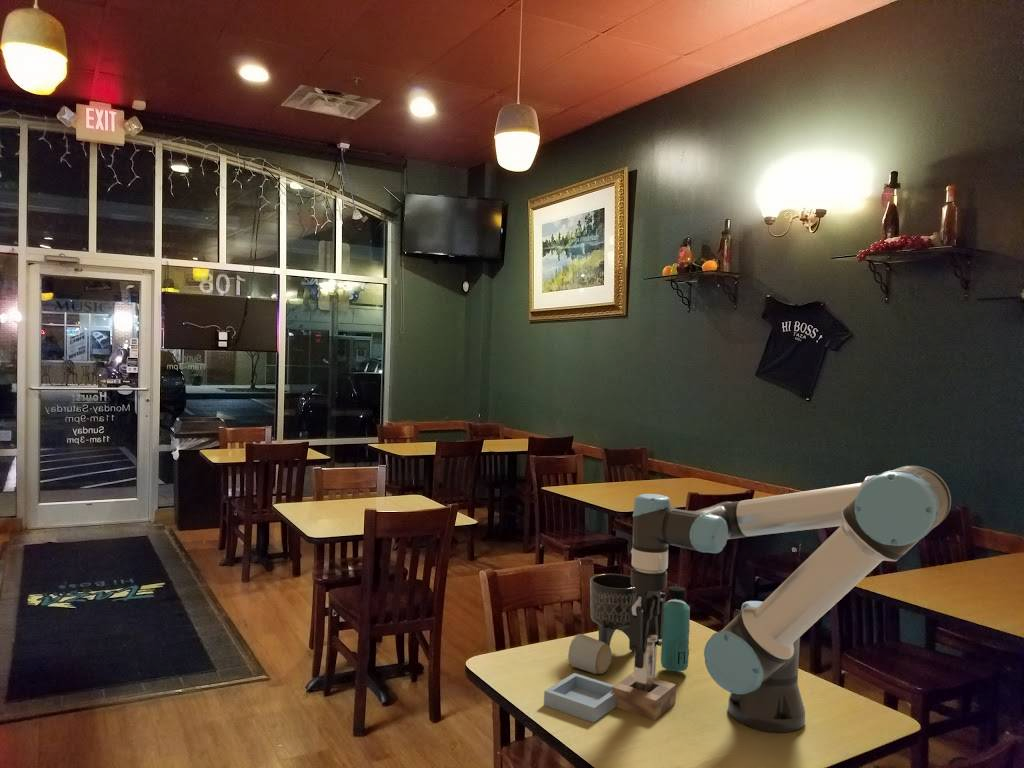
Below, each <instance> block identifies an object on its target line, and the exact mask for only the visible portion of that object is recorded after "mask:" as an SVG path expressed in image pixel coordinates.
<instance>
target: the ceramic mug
mask: <svg viewBox="0 0 1024 768" xmlns="http://www.w3.org/2000/svg"><path fill="white" fill-rule="evenodd" d="M612 657H613V656H612V649H611V647H609V645H607V644H606V643H604V642H602V641H599V639H595V637H591V636H589V635H585V634H583V633H578V634H576V635H575V636H574V638H573V639H572V640H571V642H570V645H569V649H568V654H567V658H568V663H569V665H570V666H571V667H573V668H577V669H580V670H582V671H586V672H589V673H591V674H595V675H603V674H604V673H605V672H606V671H607V670H609V668H610V665H611V664H612Z"/></svg>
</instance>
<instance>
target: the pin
mask: <svg viewBox="0 0 1024 768" xmlns="http://www.w3.org/2000/svg"><path fill="white" fill-rule="evenodd" d="M657 636H658V635H657V634H656V633H654V632H650V631H648V638H647V647H646V652H648V669H647V683H646V684H644V683H640V682H637V681H636V689H640V690H643V691H646V692H649V693H650V692H651V691H652V690H653V678H654V677H653V669H654V644H655V642H656V641H657Z"/></svg>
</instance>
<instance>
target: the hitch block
mask: <svg viewBox="0 0 1024 768" xmlns="http://www.w3.org/2000/svg"><path fill="white" fill-rule="evenodd" d="M613 685H614V686H612V692H615V693H616V704H615V708H618V709H620V710H624V711H625V712H629V713H633V714H635V715H639V716H641V717H644V718H647V719H650V720H653V721H656V720H657V719H658V718H659V717H661V716H662V715H663V714H664V713H665V712H667V710H670V708H672V707H673V706H674V705H675V704H676V696H677V695H676V694H677V684H676V683H673V682H668V681H665V680H662V679H659V678H656V677H653V690H652V691H651V692H650V693H649V692H646V691H643V690H640V689H636V681H634V671H633V672H632V673H630V674H628V675H627V676H625V677H624V678H622V679H621V680H620V681H618V682H617V683H615V684H613Z"/></svg>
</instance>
